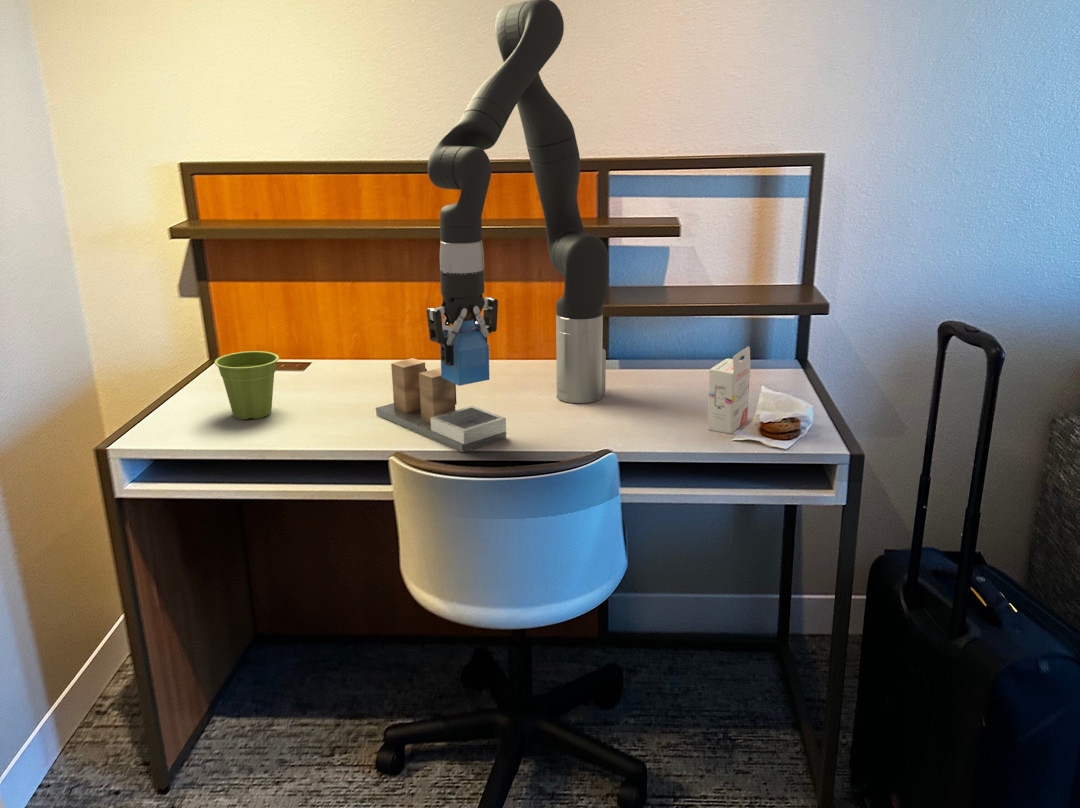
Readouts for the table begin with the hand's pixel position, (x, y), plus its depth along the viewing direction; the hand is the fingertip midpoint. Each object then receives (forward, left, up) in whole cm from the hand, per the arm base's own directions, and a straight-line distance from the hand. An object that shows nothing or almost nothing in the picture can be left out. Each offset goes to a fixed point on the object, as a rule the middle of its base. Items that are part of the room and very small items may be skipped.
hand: (464, 360), depth 167 cm
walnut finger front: (0, -9, -13) cm, 16 cm away
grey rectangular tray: (0, -9, -15) cm, 17 cm away
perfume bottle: (0, 0, -4) cm, 4 cm away
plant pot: (+22, -40, -15) cm, 48 cm away
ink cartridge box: (-39, +28, -15) cm, 50 cm away
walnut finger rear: (0, -18, -13) cm, 22 cm away
